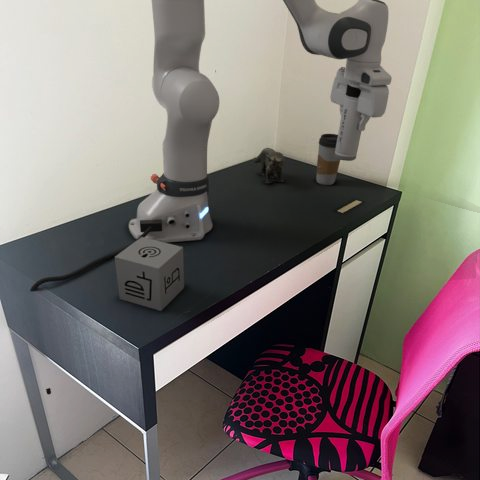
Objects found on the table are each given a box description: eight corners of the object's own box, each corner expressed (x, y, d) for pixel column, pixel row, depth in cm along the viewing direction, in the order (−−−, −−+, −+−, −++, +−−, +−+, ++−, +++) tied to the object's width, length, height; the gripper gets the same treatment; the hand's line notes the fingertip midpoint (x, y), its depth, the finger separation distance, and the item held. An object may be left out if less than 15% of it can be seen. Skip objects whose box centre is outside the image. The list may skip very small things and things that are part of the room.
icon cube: (161, 311, 98) (158, 268, 93) (119, 298, 101) (114, 256, 96) (184, 287, 106) (183, 247, 100) (145, 277, 109) (141, 236, 103)
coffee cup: (309, 178, 167) (315, 133, 158) (330, 176, 169) (338, 132, 160) (319, 187, 161) (326, 141, 152) (341, 185, 163) (349, 140, 154)
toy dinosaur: (251, 168, 173) (253, 135, 166) (273, 167, 174) (276, 135, 168) (264, 190, 155) (267, 155, 149) (289, 190, 157) (293, 155, 150)
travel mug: (354, 154, 143) (369, 80, 131) (356, 161, 137) (372, 85, 126) (333, 152, 143) (346, 78, 131) (334, 159, 138) (348, 83, 126)
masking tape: (342, 213, 144) (342, 212, 144) (337, 211, 145) (337, 210, 145) (362, 202, 152) (362, 201, 151) (356, 200, 153) (356, 200, 152)
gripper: (329, 65, 133) (322, 118, 141) (376, 79, 119) (365, 137, 127) (347, 65, 136) (339, 117, 144) (396, 78, 121) (384, 135, 129)
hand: (352, 126), depth 135 cm, fingers closed on travel mug, 6 cm apart
